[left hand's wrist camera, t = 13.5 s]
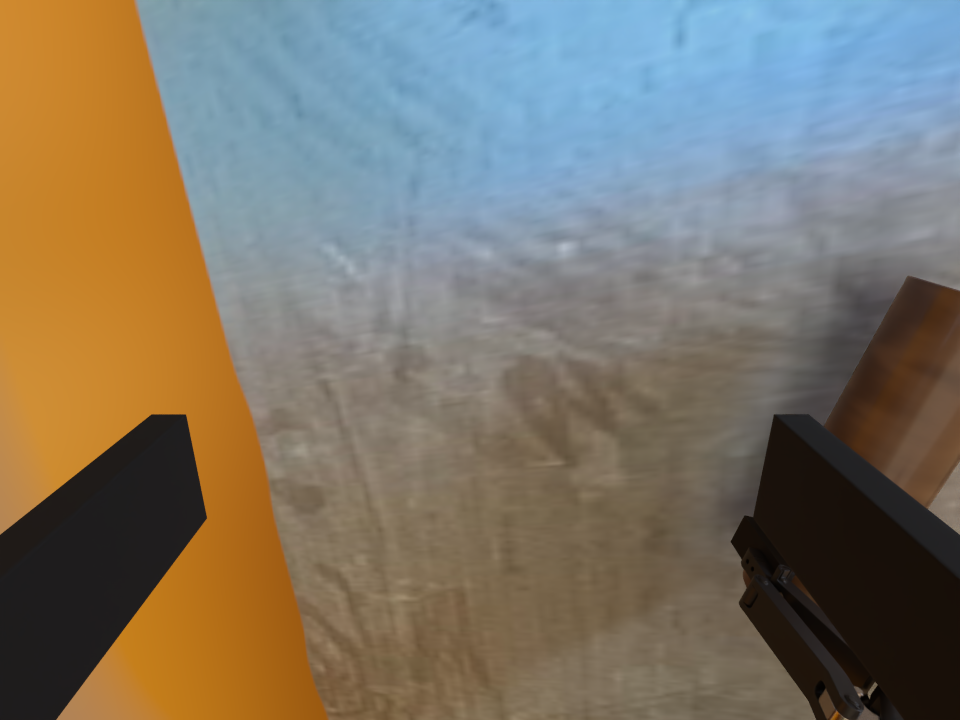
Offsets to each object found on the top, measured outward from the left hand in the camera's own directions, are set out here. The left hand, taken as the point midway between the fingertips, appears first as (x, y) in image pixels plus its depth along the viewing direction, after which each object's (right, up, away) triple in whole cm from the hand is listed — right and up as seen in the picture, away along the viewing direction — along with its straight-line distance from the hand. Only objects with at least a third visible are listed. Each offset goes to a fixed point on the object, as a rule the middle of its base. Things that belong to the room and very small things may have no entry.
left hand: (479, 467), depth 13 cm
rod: (+28, -4, +31) cm, 42 cm away
